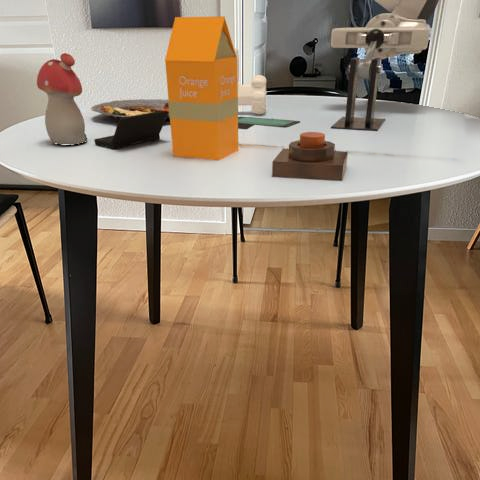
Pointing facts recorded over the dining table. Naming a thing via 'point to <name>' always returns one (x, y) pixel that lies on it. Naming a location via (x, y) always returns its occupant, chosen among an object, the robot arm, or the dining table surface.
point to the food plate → (131, 107)
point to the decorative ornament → (62, 101)
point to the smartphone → (264, 122)
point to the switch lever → (370, 53)
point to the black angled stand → (135, 130)
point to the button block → (310, 162)
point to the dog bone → (254, 94)
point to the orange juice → (202, 88)
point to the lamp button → (312, 139)
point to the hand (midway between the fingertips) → (374, 39)
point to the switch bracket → (349, 120)
